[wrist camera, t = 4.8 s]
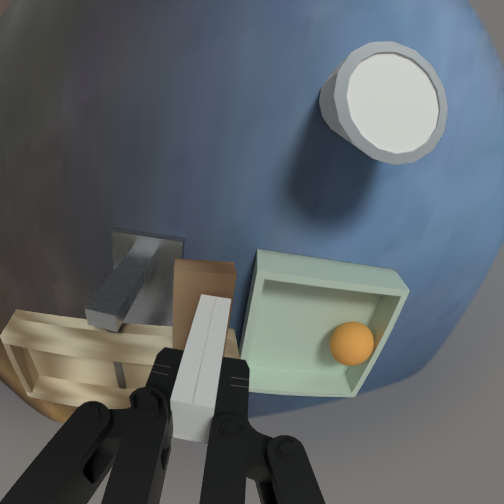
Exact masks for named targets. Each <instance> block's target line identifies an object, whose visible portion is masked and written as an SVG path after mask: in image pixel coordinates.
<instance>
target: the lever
mask: <svg viewBox="0 0 504 504" xmlns="http://www.w3.org/2000/svg"><path fill="white" fill-rule="evenodd" d="M236 276H237V273H236V269H235V265H234V262H221V261H205V260H189V259H175V265H174V282H173V327H171V326H155V325H141V324H129V323H122V324H121V326H120V328H119V330H118V332H116V331H111V330H107V329H103V328H99V327H95V326H91V325H88V323H87V319H80V318H72V317H64V316H56V315H49V314H42V313H36V312H29V311H23V310H17V309H16V311H15V313H14V314H13V316H12V317H11V319H10V321H9V322H8V324H7V325H6V327H5V329H4V330H3V332H2V334H1V335H0V337H1V340H2V342H3V345H4V347H5V349H6V352H7V354H8V356H9V358H10V361H11V363H12V365H13V367H14V369H15V371H16V373H17V375H18V377H19V379H20V381H21V383H22V385H23V387H24V389H25V391H26V393H27V395H28V396H29V397H33V398H37V399H42V400H46V401H51V402H55V403H60V404H65V405H71V406H76V407H79V406H80V405H82V404H83V403H85V402H88V401H98V402H100V403H103V404H104V405H105V406H106V407H107V408H108V409H126V408H130V407H131V403H130V399H129V396H130V395H131V393H132V392H133V391H135V390H136V389H138V388H142V387H145V385H146V383H147V380H148V377H149V374H150V372H151V369H152V366H153V365H154V361H155V358H156V356H157V354H158V353H159V352H160V351H161V350H162V349H163V348H164V347H168V348H173V349H178V350H183V351H184V350H185V347H186V343H187V340H188V336H189V333H190V330H191V326H192V323H193V320H194V317H195V313H196V310H197V307H198V304H199V300H200V297H201V294H204V295H210V296H216V297H222V298H228V299H231V304H230V311H229V317H228V324H227V331H226V338H225V345H224V351H223V357H229V358H236V359H240V357H239V352H238V347H237V341H236V336H235V331H234V329H229V322H230V315H231V309H232V302H233V295H234V289H235V282H236Z"/></svg>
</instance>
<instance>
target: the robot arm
mask: <svg viewBox="0 0 504 504" xmlns="http://www.w3.org/2000/svg"><path fill="white" fill-rule="evenodd" d="M230 304H231V299H228V298H222V297H216V296H210V295H204V294H201V297H200V300H199V304H198V307H197V310H196V313H195V317H194V320H193V323H192V326H191V330H190V333H189V336H188V340H187V343H186V347H185V350H184V351H183V350H178V349H173V348H168V347H164V348H163V349H162V350H161V351H160V352H159V353H158V354H157V356H156V358H155V361H154V365H153V366H152V369H151V372H150V374H149V377H148V380H147V383H146V385H145V387H142V388H138V389H136V390H135V391H133V392H132V393H131V395H130V396H129V399H130V403H131V407H130V408H126V409H108V408H107V407H106V406H105V405H104V404H103V403H100V402H98V401H88V402H85V403H83V404H82V405H80V406H79V407H78V408H77V409H76V411H75V412H74V413H73V414H72V415H71V416H70V418H69V419H68V420H67V421H66V422H65V424H64V425H63V426H62V427H61V428H60V429H59V431H58V432H57V433H56V434H55V435H54V437H53V438H52V439H51V440H50V441H49V443H48V444H47V445H46V446H45V447H44V449H43V450H42V451H41V452H40V453H39V455H38V456H37V457H36V458H35V459H34V461H33V462H32V463H31V464H30V466H29V467H28V468H27V469H26V470H25V472H24V473H23V474H22V475H21V477H20V478H19V479H18V480H17V482H16V483H15V484H14V485H13V487H12V488H11V489H10V490H9V492H8V493H7V494H6V495H5V497H4V498H3V499H2V500H1V502H0V504H87V503H88V501H89V500H90V499H91V497H92V496H93V494H94V493H95V491H96V490H97V488H98V487H99V485H100V484H101V482H102V481H103V479H104V478H105V476H106V475H107V473H108V472H109V471H110V469H111V468H112V470H111V473H110V477H109V480H108V483H107V486H106V489H105V493H104V496H103V500H102V503H101V504H159V502H160V497H161V492H162V488H163V483H164V478H165V473H166V469H167V464H168V460H169V455H170V451H171V444H170V442H171V438H172V434H173V437H174V438H179V439H184V440H189V441H195V442H201V443H207V444H208V447H207V455H206V461H205V468H204V476H203V482H202V489H201V496H200V503H199V504H245V487H246V477H248V478H250V479H253V480H255V483H256V486H257V490H258V494H259V498H260V501H261V504H325V501H324V499H323V496H322V494H321V491H320V489H319V486H318V483H317V481H316V478H315V475H314V473H313V470H312V467H311V465H310V462H309V459H308V457H307V454H306V452H305V449H304V446H303V445H302V443H301V442H300V441H299V440H297V439H296V438H294V437H291V436H288V435H281V436H278V437H275V438H272V437H269V436H266V435H263V434H261V433H259V432H257V431H256V430H255V429H253V428H252V426H251V425H250V423H249V421H248V397H249V377H250V368H249V366H248V364H247V362H246V360H243V359H236V358H229V357H223V351H224V345H225V338H226V331H227V324H228V317H229V311H230ZM112 466H113V467H112Z"/></svg>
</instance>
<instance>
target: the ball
mask: <svg viewBox="0 0 504 504" xmlns="http://www.w3.org/2000/svg"><path fill="white" fill-rule="evenodd" d="M373 347H374V338H373V335H372V333H371V331H370V329H369V328H368V327H367V326H365V325H364V324H362V323H360V322H355V321H352V322H346V323H343V324H342V325H340V326H339V327H337V328H336V329H335V331H334V332H333V334H332V336H331V338H330V351H331V354H332V356H333V357H334V359H335V360H336V361H338V362H339V363H341V364H343V365H346V366H355V365H359V364H361V363H363V362H364V361H365V360H367V359H368V357H369V356H370V355H371V353H372V350H373Z"/></svg>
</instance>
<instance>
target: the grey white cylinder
mask: <svg viewBox="0 0 504 504" xmlns="http://www.w3.org/2000/svg"><path fill="white" fill-rule="evenodd" d="M319 105H320V109H321V113H322V117H323V118H324V120H325V121H326V123H327V124H328V126H329V127H330V129H332V130H333V131H334V132H336V133H337V134H339V135H340V136H341V137H343V138H344V139H346V140H347V141H349V142H350V143H352V144H353V145H354V146H356V147H357V148H359V149H360V150H361V151H363V152H364V153H366V154H367V155H368V156H370V157H371V158H372V159H375V160H379V161H382V162H386V163H390V164H393V165H398V164H404V163H411V162H416V161H418V160H419V159H421V158H422V157H424V156H425V155H426V154H428V153H429V152H431V151H432V150H433V149H434V148H435V146H436V144H437V143H438V141H439V140H440V138H441V136H442V135H443V133H444V129H445V124H446V118H447V112H448V109H447V102H446V96H445V91H444V87H443V85H442V83H441V81H440V79H439V77H438V76H437V74H436V72H435V70H434V68H433V67H432V66H431V65H430V64H429V63H428V62H427V61H426V60H425V59H424V58H423V57H422V56H421V55H419V54H418V53H417V52H416V51H415V50H413V49H410V48H408V47H406V46H403V45H401V44H398V43H395V42H370V43H368V44H366V45H364V46H362V47H361V48H359V49H357V50H355V51H353V52H351V53H350V54H349V55H348V56H347V57H346V58H345V59H344V61H343V62H342V63H341V64H340V65H339V66H338V67H337V68H336V69H335V70H334V71H333V72H332V73H331V74H330V75H329V77H328V78H327V80H326V81H325V83H324V84H323V86H322V87H321V92H320V98H319Z"/></svg>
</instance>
